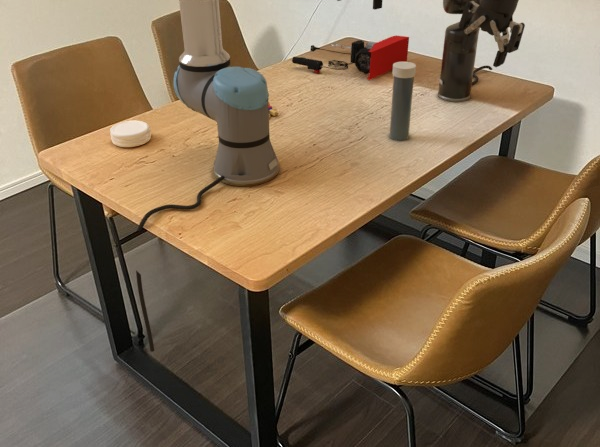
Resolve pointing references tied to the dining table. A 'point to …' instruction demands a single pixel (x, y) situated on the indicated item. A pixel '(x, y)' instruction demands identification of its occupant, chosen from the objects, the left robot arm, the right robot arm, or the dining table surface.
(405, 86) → the grey cylinder
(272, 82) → the dining table surface
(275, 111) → the toy figure
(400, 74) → the lid
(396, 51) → the electric hoist
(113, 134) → the white round container
